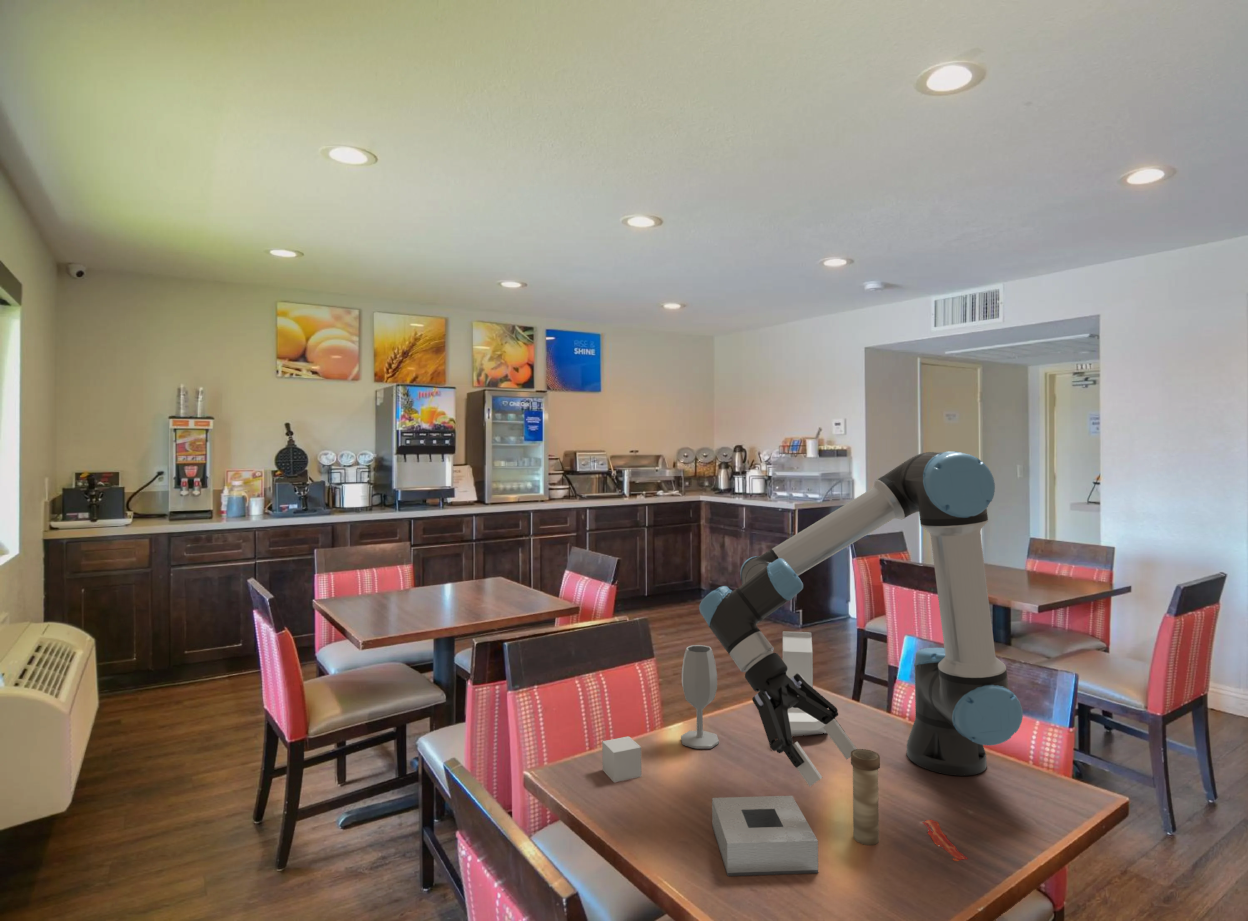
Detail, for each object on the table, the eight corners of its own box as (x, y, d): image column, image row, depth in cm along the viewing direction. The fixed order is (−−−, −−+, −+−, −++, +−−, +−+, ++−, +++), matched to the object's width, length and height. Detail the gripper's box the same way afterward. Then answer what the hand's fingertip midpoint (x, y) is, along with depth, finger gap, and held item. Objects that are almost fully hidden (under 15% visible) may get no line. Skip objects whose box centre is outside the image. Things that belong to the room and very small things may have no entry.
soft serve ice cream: (756, 734, 162) (755, 671, 165) (815, 734, 164) (813, 672, 168) (778, 742, 150) (776, 674, 153) (841, 742, 152) (838, 675, 156)
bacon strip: (949, 863, 108) (949, 859, 108) (907, 813, 123) (907, 810, 123) (973, 862, 108) (973, 858, 108) (928, 813, 123) (928, 809, 123)
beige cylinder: (874, 830, 117) (873, 748, 117) (885, 845, 113) (884, 760, 113) (847, 831, 117) (846, 749, 117) (857, 846, 112) (856, 761, 112)
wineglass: (676, 747, 151) (675, 652, 151) (685, 732, 160) (684, 641, 159) (715, 752, 148) (714, 655, 148) (722, 736, 157) (722, 644, 157)
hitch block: (792, 824, 119) (792, 795, 119) (818, 873, 105) (817, 840, 105) (712, 826, 119) (712, 797, 119) (727, 876, 105) (727, 843, 105)
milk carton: (813, 712, 171) (812, 636, 171) (783, 710, 172) (783, 635, 172) (811, 702, 178) (810, 629, 178) (782, 700, 179) (782, 628, 179)
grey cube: (602, 770, 141) (602, 741, 141) (629, 764, 143) (628, 736, 143) (614, 783, 135) (613, 752, 135) (641, 776, 138) (641, 746, 138)
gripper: (781, 659, 139) (852, 755, 128) (707, 690, 120) (783, 805, 110) (805, 637, 135) (880, 735, 125) (732, 667, 117) (814, 783, 107)
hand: (835, 768), depth 118 cm, fingers open, 13 cm apart
